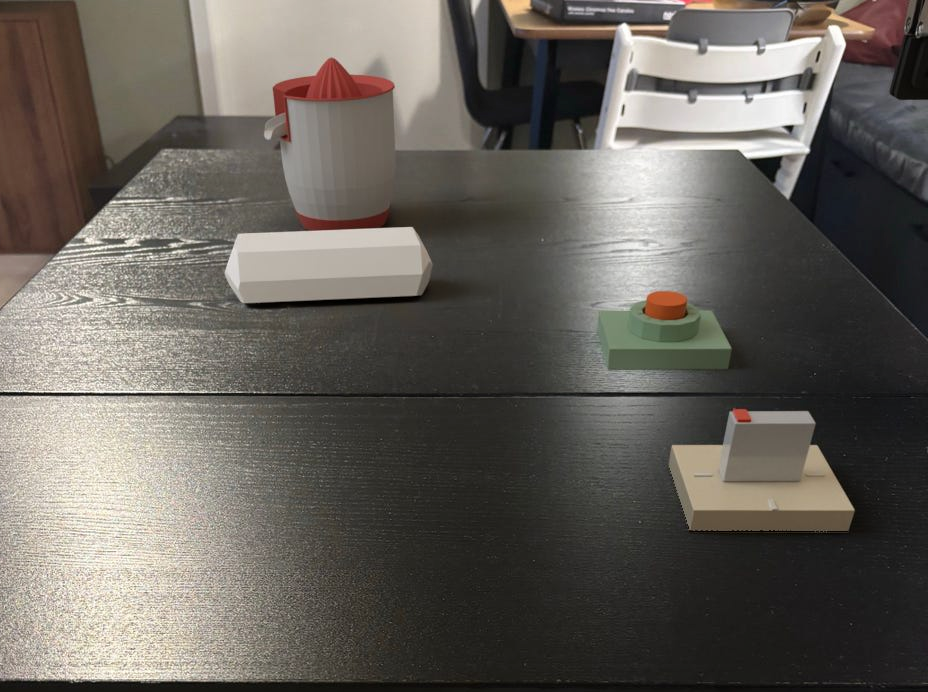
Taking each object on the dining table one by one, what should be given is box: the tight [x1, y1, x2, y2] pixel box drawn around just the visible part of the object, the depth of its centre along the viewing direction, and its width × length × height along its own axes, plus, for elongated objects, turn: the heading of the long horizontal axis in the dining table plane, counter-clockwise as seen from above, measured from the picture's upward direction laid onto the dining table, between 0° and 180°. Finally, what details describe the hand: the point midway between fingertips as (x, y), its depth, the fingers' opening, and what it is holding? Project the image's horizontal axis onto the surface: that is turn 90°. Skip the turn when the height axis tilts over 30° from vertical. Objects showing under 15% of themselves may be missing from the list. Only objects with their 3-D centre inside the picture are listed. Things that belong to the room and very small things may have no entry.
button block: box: [596, 299, 733, 371], centre depth 96 cm, size 12×10×4 cm
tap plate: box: [668, 444, 856, 533], centre depth 74 cm, size 12×10×2 cm
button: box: [645, 290, 688, 320], centre depth 94 cm, size 4×4×2 cm
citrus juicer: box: [263, 57, 397, 231], centre depth 123 cm, size 16×17×20 cm
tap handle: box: [718, 408, 817, 482], centre depth 72 cm, size 6×2×5 cm, turn 89°
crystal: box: [224, 226, 434, 304], centre depth 108 cm, size 7×7×24 cm
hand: (912, 97), depth 71 cm, fingers closed
